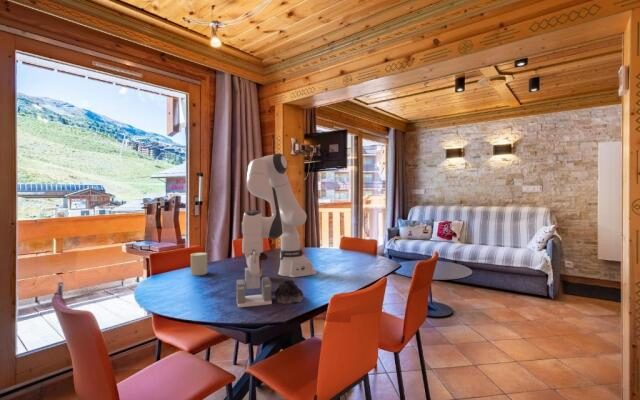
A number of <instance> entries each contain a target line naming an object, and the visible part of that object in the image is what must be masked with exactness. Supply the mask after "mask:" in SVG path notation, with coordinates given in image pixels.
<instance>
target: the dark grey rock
mask: <svg viewBox="0 0 640 400" xmlns="http://www.w3.org/2000/svg"><path fill="white" fill-rule="evenodd" d="M274 297H275V301H276V302H277V303H278V304H285V305H286V304H295V303H300V302H302V301H303V300H304V292H303V291H302V290H301V289H300V288H299V287H298V286H297V285H296V284H295V282H294V281H293V280H292V279H286V280H282V281H281V282H280V283H279V284H278V287H277V288H276V289H275V291H274Z"/></svg>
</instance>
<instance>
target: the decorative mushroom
mask: <svg viewBox="0 0 640 400" xmlns="http://www.w3.org/2000/svg"><path fill="white" fill-rule="evenodd" d="M268 258H269V257H268V255H267V253H265V252H264V251H263V252H262V253H260V256H259V268H260V278H262V276H263V265H262V261H265V260H268Z"/></svg>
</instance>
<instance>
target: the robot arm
mask: <svg viewBox="0 0 640 400" xmlns="http://www.w3.org/2000/svg"><path fill="white" fill-rule="evenodd" d="M287 169H288V162H287V158H286V157H285V155H283V153H274V154H269V155H265V156H261V157H260V158H254V159H253V160H251V161H250V162H249V163H248V166H247V169H246V170H247V173H246V189H247V190H248V193H250V195H253V196H254V197H256V198H259V199H262V200H265V201H266V202H268V203H269V206H270V212H271V216H263V215H262V212H261V211H260V210H255V209H253V210H252V209H251V210H247V211H245V212H243V216H242V221H241V225H240V231H241V232H240V233H241V234H242V242H241V244H242V245H241V248H242V249H241V250H242V251H241V252H242V254H244V256H245V262H246V266H247V268H248V269H249V271H250V274H251V282H256V274H259V256H260V253H262V252H263V253H264V239H275V240H277V239H278V238H280V250H279V259H280V262H279V269H278V275H279V276H282V277H289V278H299V277H305V276H306V277H307V276H312V275H313V276H314V275H317V273H318V271H317V270H316V269H315V268H314V266H313V263H312V261H311V260H310V259H308V257H306V256H305V255H306V251H305V250H304V249H301V244H300V243H301V240H300V239H301V237H300V233H299V232H298V230H297V227H301V226H302V225H304V224H305V223H306V221H307V217H308V215H307V213H306V211H305V210H304V208H302V207H301V206H300V204H299V202H298V200H297V198H296V197H295V195H294V192H293V189H292V186H291V183H290V180H289V177H288V175H287V173H286V171H287Z"/></svg>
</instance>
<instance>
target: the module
mask: <svg viewBox="0 0 640 400" xmlns="http://www.w3.org/2000/svg"><path fill="white" fill-rule="evenodd" d="M244 283H245V290H253V289H255V290H256V289H261V277H260V268H259V274H256V282H251V274H250V271H249V269H248V267H244Z"/></svg>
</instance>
